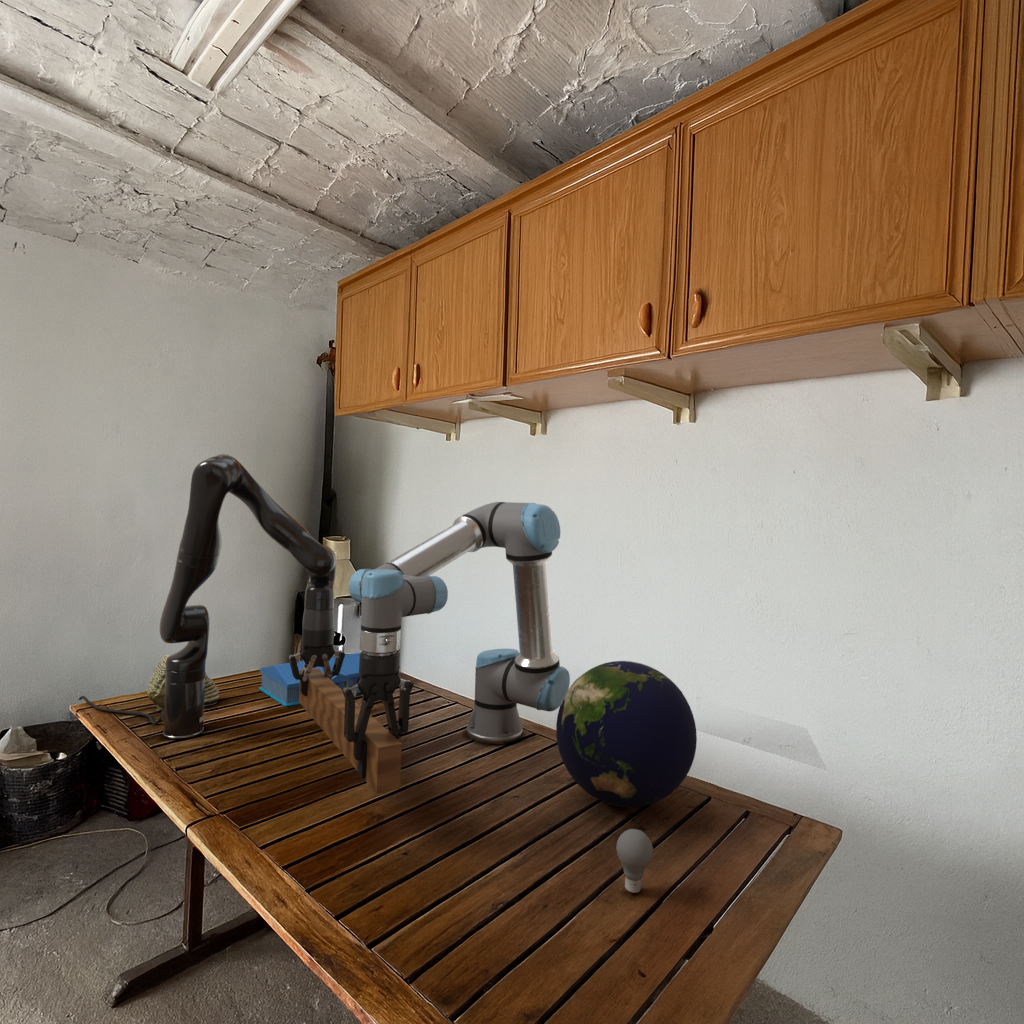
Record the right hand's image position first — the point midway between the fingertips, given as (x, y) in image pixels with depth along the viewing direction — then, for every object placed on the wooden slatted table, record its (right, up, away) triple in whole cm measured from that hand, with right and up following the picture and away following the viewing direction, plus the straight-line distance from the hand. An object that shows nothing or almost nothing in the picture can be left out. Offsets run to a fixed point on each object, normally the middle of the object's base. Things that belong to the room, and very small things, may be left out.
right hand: (374, 772), depth 121 cm
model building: (-33, -8, +87) cm, 93 cm away
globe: (+50, -13, +17) cm, 55 cm away
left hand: (-23, +4, +37) cm, 44 cm away
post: (-12, 0, +19) cm, 22 cm away
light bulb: (+46, -14, -15) cm, 51 cm away
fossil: (-70, -7, +64) cm, 95 cm away
